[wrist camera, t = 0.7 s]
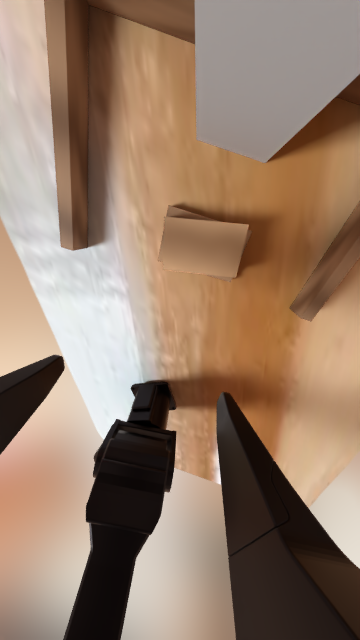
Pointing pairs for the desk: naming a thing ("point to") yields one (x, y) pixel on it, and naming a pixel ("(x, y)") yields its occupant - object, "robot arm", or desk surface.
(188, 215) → the offcut lower
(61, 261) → the desk surface
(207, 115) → the tall board
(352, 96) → the wooden frame
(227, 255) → the offcut upper
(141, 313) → the desk surface
